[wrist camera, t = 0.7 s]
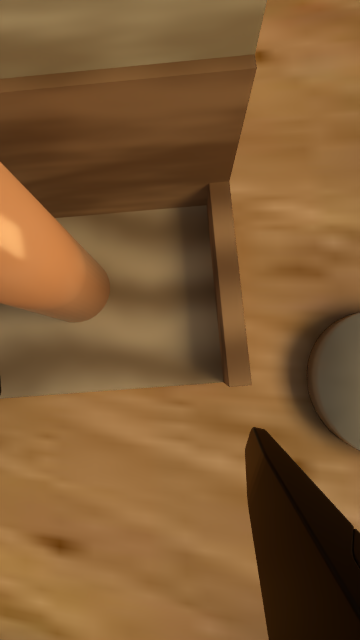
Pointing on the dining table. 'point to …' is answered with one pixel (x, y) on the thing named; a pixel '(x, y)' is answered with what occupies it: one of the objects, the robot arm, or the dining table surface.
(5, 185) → the tan tapered cylinder
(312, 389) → the grey plate
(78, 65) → the cold frame
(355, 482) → the dining table surface
